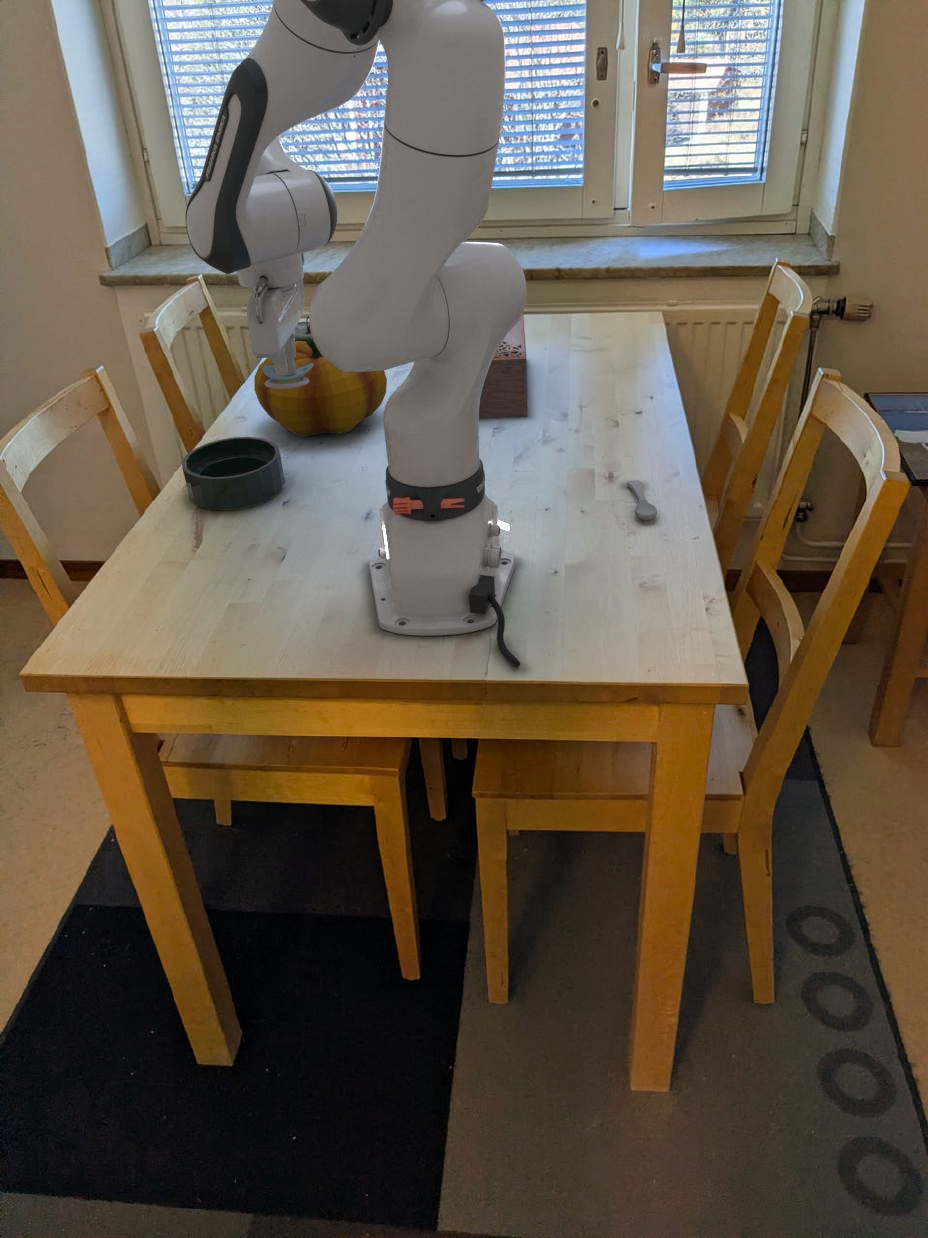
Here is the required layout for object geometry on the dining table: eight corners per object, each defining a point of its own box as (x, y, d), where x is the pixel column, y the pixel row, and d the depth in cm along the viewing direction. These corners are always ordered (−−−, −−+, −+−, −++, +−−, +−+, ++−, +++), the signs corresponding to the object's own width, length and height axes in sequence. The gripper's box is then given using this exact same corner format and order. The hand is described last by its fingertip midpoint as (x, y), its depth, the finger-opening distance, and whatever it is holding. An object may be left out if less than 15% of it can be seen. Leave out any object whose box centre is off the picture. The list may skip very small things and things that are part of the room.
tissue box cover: (527, 416, 164) (526, 358, 159) (441, 420, 165) (437, 362, 160) (524, 361, 186) (523, 309, 180) (448, 365, 186) (444, 312, 181)
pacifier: (309, 391, 138) (318, 374, 142) (302, 348, 134) (311, 332, 139) (258, 393, 138) (268, 376, 143) (250, 349, 135) (261, 334, 139)
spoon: (637, 524, 132) (637, 510, 131) (622, 489, 143) (622, 477, 142) (659, 523, 132) (659, 509, 131) (642, 488, 143) (643, 475, 142)
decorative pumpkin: (390, 442, 159) (380, 352, 150) (254, 452, 159) (236, 363, 150) (391, 395, 175) (382, 311, 167) (268, 404, 175) (253, 321, 167)
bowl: (275, 511, 142) (269, 476, 139) (179, 514, 142) (170, 480, 139) (292, 467, 153) (286, 434, 150) (203, 471, 154) (195, 438, 151)
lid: (283, 342, 207) (274, 321, 204) (324, 321, 209) (315, 300, 206) (301, 358, 200) (292, 336, 196) (343, 336, 202) (335, 314, 198)
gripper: (277, 288, 123) (295, 393, 131) (305, 246, 140) (319, 341, 148) (228, 290, 124) (248, 395, 131) (261, 249, 140) (277, 343, 148)
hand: (286, 366), depth 140 cm, fingers closed on pacifier, 3 cm apart
